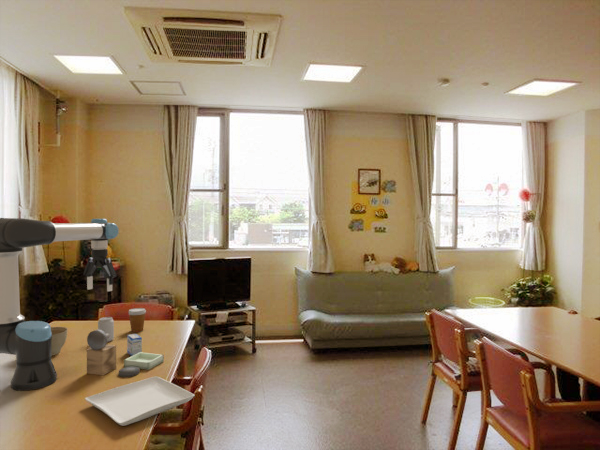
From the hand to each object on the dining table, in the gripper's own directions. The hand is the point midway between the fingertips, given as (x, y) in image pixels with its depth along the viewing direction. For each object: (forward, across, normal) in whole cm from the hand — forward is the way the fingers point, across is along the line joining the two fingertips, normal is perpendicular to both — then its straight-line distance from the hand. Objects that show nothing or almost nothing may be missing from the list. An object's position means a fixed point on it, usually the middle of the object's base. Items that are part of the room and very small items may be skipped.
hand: (99, 290), depth 212 cm
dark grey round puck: (+28, -44, +25) cm, 58 cm away
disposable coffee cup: (+28, 0, -26) cm, 38 cm away
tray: (+28, -42, +14) cm, 52 cm away
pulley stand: (+28, -31, +28) cm, 50 cm away
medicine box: (+28, -28, +6) cm, 40 cm away
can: (+28, +1, -5) cm, 28 cm away
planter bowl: (+28, +10, +21) cm, 36 cm away
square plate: (+28, -70, +46) cm, 88 cm away
